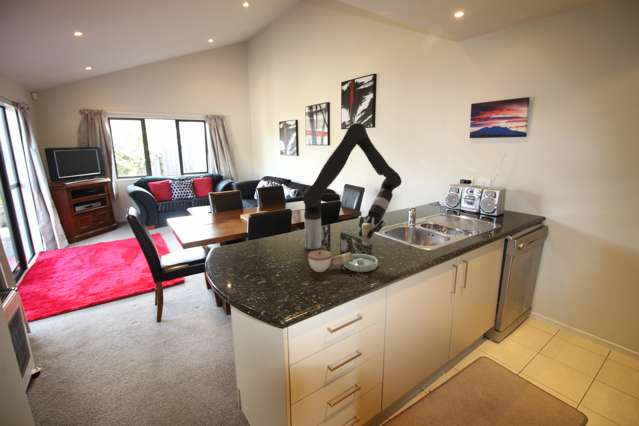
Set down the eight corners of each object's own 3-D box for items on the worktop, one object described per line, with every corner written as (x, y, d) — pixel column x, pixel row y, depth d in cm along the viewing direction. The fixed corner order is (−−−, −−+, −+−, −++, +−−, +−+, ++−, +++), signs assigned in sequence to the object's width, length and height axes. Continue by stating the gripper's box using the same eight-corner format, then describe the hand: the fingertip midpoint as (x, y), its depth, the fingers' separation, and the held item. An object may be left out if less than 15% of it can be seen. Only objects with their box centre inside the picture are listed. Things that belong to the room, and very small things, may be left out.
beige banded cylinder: (352, 258, 146) (332, 264, 145) (349, 250, 144) (329, 256, 144) (353, 262, 141) (333, 268, 141) (351, 254, 140) (331, 260, 140)
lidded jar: (323, 276, 136) (323, 256, 133) (304, 271, 141) (303, 252, 139) (335, 267, 144) (335, 249, 142) (316, 263, 150) (316, 245, 148)
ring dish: (347, 272, 139) (347, 266, 138) (341, 259, 154) (341, 254, 154) (381, 270, 140) (381, 264, 139) (372, 257, 156) (372, 252, 155)
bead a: (363, 245, 146) (363, 225, 144) (361, 242, 150) (361, 223, 148) (372, 245, 146) (372, 225, 144) (369, 242, 150) (370, 222, 148)
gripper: (364, 202, 154) (349, 230, 148) (388, 205, 144) (373, 235, 138) (370, 210, 159) (355, 238, 153) (394, 214, 149) (379, 243, 143)
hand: (364, 236), depth 146 cm, fingers closed on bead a, 4 cm apart
